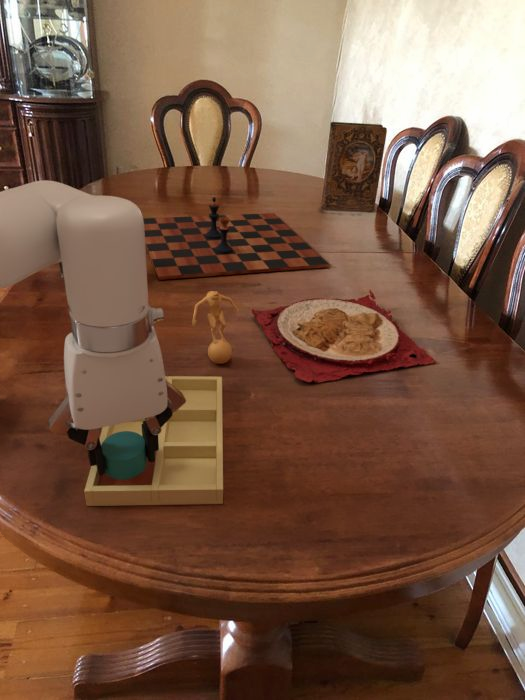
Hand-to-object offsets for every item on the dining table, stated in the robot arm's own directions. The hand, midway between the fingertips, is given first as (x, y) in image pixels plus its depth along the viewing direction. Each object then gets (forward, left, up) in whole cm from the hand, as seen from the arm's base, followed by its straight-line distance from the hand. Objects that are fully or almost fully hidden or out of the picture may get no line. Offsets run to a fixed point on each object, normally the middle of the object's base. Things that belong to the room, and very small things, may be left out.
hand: (124, 459), depth 62 cm
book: (+52, +117, -3) cm, 128 cm away
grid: (+4, +7, -3) cm, 9 cm away
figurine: (+11, +27, -3) cm, 30 cm away
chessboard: (+13, +82, -3) cm, 83 cm away
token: (0, 0, -1) cm, 1 cm away
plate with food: (+33, +34, -3) cm, 48 cm away
